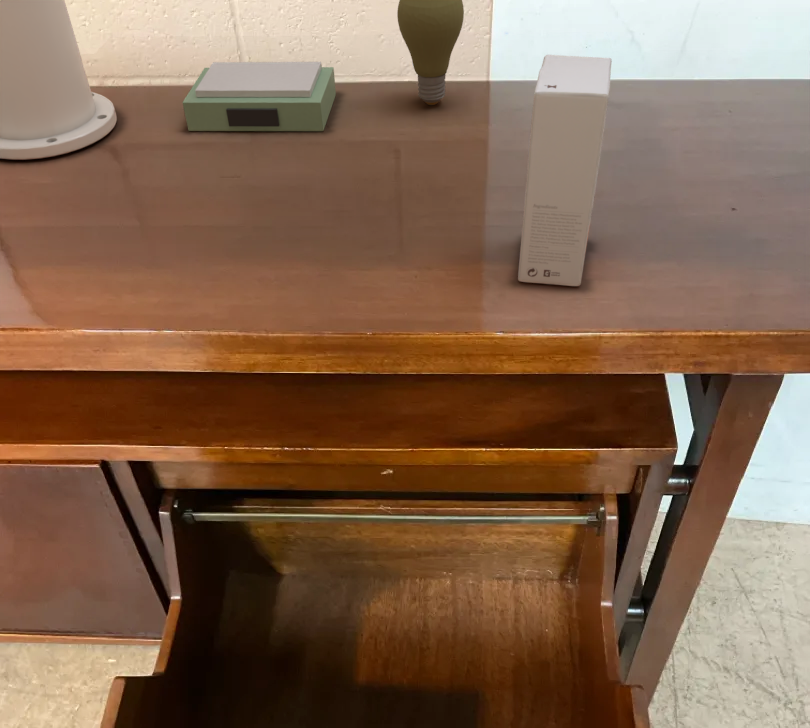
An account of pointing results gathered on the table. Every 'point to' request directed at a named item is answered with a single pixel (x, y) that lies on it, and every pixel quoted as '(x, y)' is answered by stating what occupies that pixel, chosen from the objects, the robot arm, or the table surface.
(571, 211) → the cosmetic box
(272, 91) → the scale
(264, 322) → the table surface
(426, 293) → the table surface
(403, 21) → the light bulb
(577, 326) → the table surface
